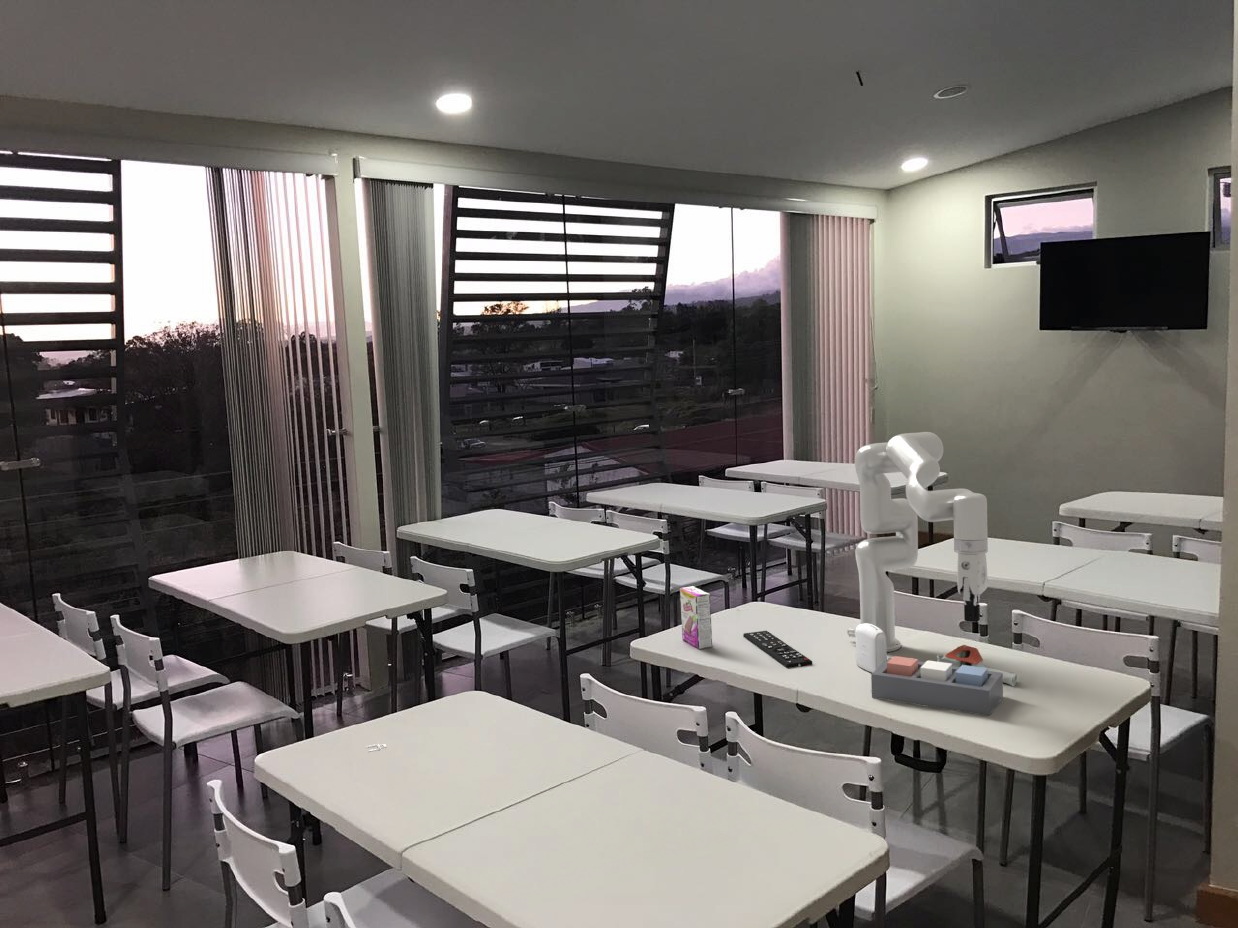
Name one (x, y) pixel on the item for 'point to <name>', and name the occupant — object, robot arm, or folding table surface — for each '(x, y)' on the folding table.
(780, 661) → the remote control
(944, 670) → the white key
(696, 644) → the candy bar box
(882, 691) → the key panel
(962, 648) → the tape dispenser
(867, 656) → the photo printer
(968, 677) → the blue key
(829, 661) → the folding table surface
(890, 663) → the red key
